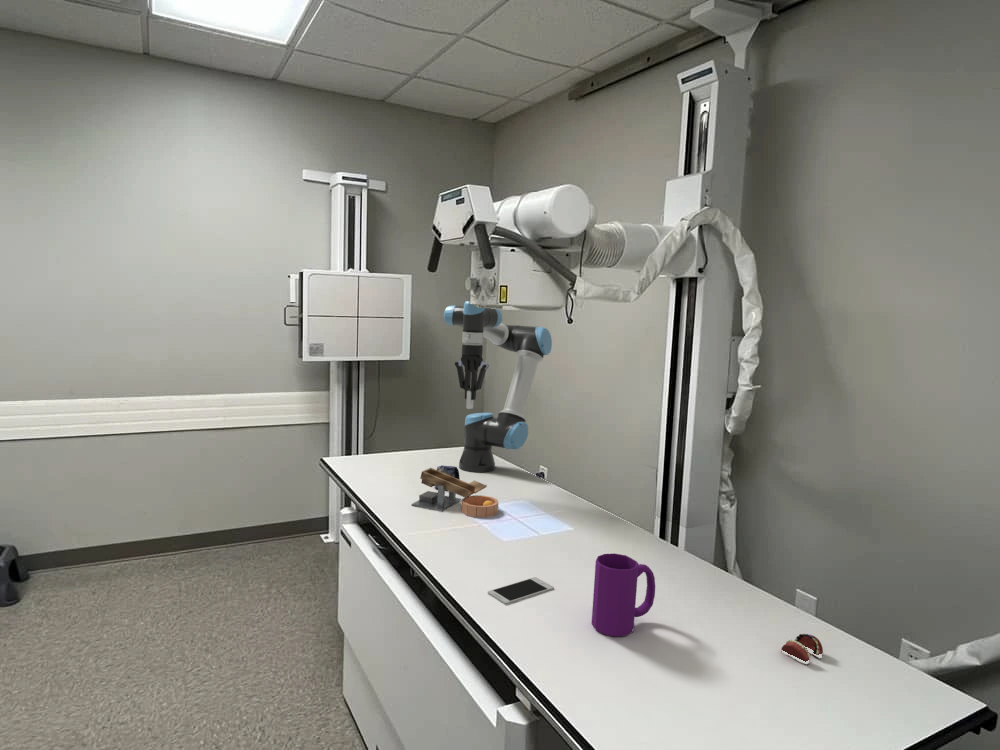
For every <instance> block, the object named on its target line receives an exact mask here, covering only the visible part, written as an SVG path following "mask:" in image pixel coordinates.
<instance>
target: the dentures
mask: <svg viewBox="0 0 1000 750" xmlns="http://www.w3.org/2000/svg"><path fill="white" fill-rule="evenodd" d="M804 646H805V647H808V648H810V649H812V650H813V651H814V652H813V653H814V654H816V655H819V654H822V653H823V654H824V649H823V645H822V642H821V641H820V639H819V638H817V637H816V636H814V635H812V634H808V633H799V634H798V635H797V636H796V637H795V639H788V640H787V641H786V642H785V643H784V644H783V645H782V647H781V650H783V651H785V652H787V653H788V654H790V655H793V656H795V657H797V658H799V659H801V660H803V661H805V662H806V661H808V660H809V661H810V658H811V654H810V653H809V652H808V650H807V648H805V647H804Z"/></svg>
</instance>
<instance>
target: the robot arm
mask: <svg viewBox="0 0 1000 750" xmlns="http://www.w3.org/2000/svg"><path fill="white" fill-rule="evenodd" d="M470 301H471V300H466V301H465V302H464V304H463V305H457V304H456V305H455V304H454V305H448V306H447V307H446V308H445V310H444V311H443V312H444V313H443V320H444V322H445V324H446V325H450V326H453V327H454V326H457V327H460V328H462V339H461V340H462V341H461V342H462V343H463V344H461V357H460V359H459V360H458V361H455V362H454V365H455V367H456V371H457V375H458V383H459V388H460V389H463V390H464V399H465V400H466V404H465V405H466V406H465V407H466V409H468V410H471V409H474V401H475V400H476V399H477V398H476V397H477V391H479V390H481V389H482V386H483V383H484V380H485V375H486V372H487V370H488V368H489V363H488V364H487V363H485V362H484V359H483V353H484V352H483V351H484V350H483V349H484V346H483V345H482V344H483V343H484V338H485V339H487V340H489V342H491V343H492V345H495V346H497V347H500V348H501V349H504V350H506V351H510V352H513V353H515V354H516V356H517V357H518V358H517V361H516V365H515V369H514V372H513V376H512V379H511V382H510V385H509V389H508V391H507V392H508V393H507V396H506V399H505V404H504V406H503V410H501V411H498V413H497V414H498V415H497V417H494V413H492V412H476V413H470V414H467V415H466V416H465V418H464V419H465V420H464V437H463V439H464V440H463V441H464V442H463V450H462V453H461V456H460V458H459V462H458V469H460V470H463V471H465V472H470V473H471V472H472V473H486V472H491V471H494V470H495V468H496V462H495V458H494V455H493V454H494V453H493V451H492V448H493V447H495V448H502V449H505V450H520V448H522V447H523V446H524V445H525V443H526V441H527V439H528V435H529V426H528V424H527V422H526V421H527V420H526V418H525V416H524V415H525V411H526V408H527V404H528V400H529V396H530V395H531V394H530V393H531V390H532V386H533V382H534V379H535V375H536V371H537V367H538V364H539V363H541V362H542V361H543V359H544V356H548V355H549V354H550V353H551V351H552V346H553V345H552V344H553V343H552V342H553V341H552V339H553V338H552V336H551V335H552V334H551V332H550V330H548V328H547V327H543V326H531V325H530V326H528V325H519V324H518V325H515V324H514V325H512V324H505V323H503V322H502V321H503V313H502V311H501V310H500V309H498V308H497V309H491V308H478V307H476V306H474V305H471V304H470ZM479 368H480V369H479Z"/></svg>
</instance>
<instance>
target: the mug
mask: <svg viewBox="0 0 1000 750" xmlns="http://www.w3.org/2000/svg"><path fill="white" fill-rule="evenodd" d="M594 567H595V569H594V582H593V583H594V584H593V596H592V597H593V598H592V610H591V625H592V626H593V628H594V630H595V631H597V632H599V633H600V634H603V635H605V636H608V635H609V637H614V638H617V637H619V636H620V637H626V636H628V635H629V634H631V633H633V632H634V627H635V618H639V617H643V616H644V615H646V614H647V613H649V611H650V610H651V608H652V607H653V604H654V600H655V597H656V596H655V595H656V577H655V575H654V572H653V571H652V569H651V568H650V567H649V566H648V565H647V564H643V563H639V562H638V561H637V560H635V559H633V558H632V557H630V556H628V555H626V554H620V553H603V554H600V555H598V556H597V557H596V559H595V565H594ZM643 573H644V574H645V576H646V591H645V596H644V601H643V602H642V603H641V604H640V605H639V606H638V607H636V601H637V600H636V599H637V591H638V590H637V588H638V578H639V577H640V576H641V575H642V574H643ZM620 637H619V638H620Z"/></svg>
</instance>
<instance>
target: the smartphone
mask: <svg viewBox="0 0 1000 750" xmlns="http://www.w3.org/2000/svg"><path fill="white" fill-rule="evenodd" d="M554 589H555V587H554V586H553V585H551V584H550V583H547V582H545V581H544V580H542V579H540V578H539V577H536V576H534V577H531V578H527V579H524V580H520V581H518V582H517V581H516V582H514V583H510V584H507V585H504V586H500V587H498V588H494V589H490V590H488V591H487V594H488V595H489V596H491V597H492V598H494V599H495V600H497V601H498V602H500V603H501V604H503V605H505V606H507V605H511V604H512V603H516V602H519V601H522V600H525V599H528V598H532V597H534V596H537V595H538V596H539V595H541V594H544V593H546V592H549V591H552V590H554Z"/></svg>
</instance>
